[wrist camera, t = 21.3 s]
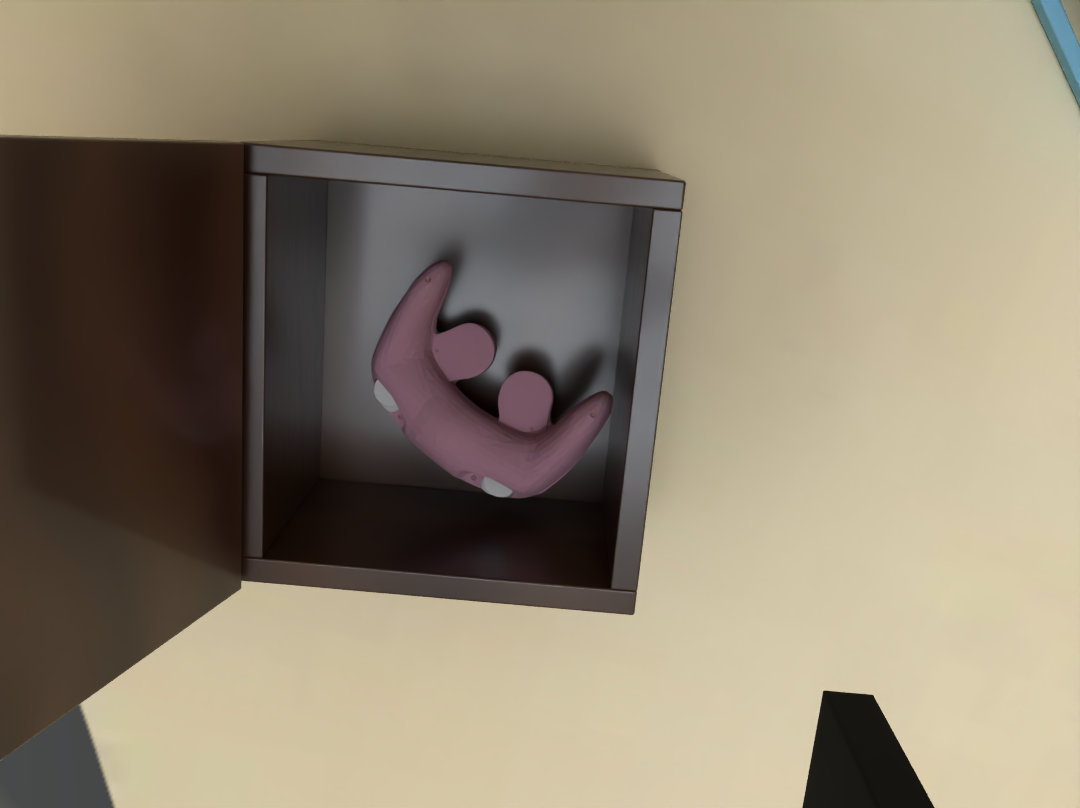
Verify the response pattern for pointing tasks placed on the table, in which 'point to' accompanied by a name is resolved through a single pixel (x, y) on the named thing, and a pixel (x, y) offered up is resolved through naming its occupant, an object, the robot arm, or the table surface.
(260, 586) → the table surface
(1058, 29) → the chair
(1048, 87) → the table surface
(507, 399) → the video game controller
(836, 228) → the table surface
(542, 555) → the chest
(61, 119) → the table surface
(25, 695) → the chest lid
